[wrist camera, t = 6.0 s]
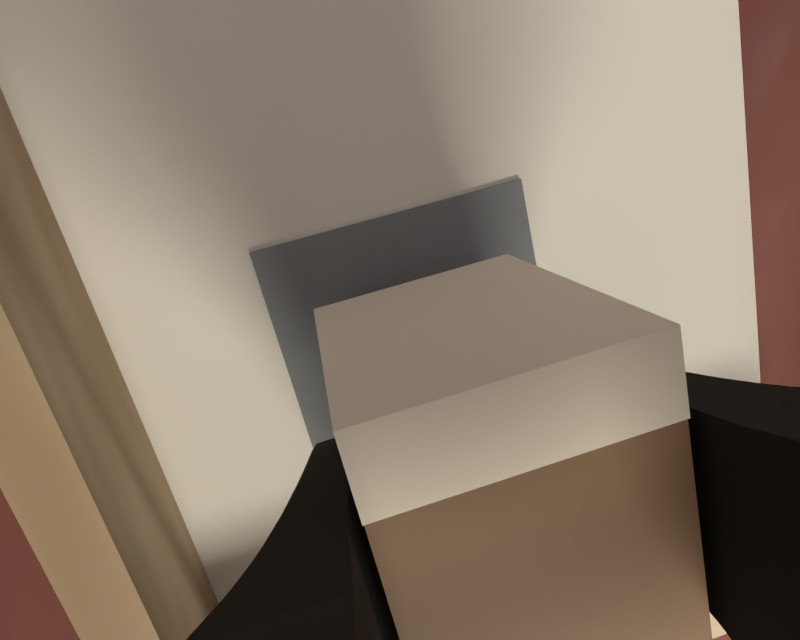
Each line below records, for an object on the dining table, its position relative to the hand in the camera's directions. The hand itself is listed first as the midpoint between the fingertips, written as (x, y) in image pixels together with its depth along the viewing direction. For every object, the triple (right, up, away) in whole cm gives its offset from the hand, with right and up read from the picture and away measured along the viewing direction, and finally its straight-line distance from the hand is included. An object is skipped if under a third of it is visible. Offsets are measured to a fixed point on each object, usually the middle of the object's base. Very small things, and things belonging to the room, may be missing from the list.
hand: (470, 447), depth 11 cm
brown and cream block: (0, 0, +2) cm, 2 cm away
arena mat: (-1, +2, +3) cm, 4 cm away
